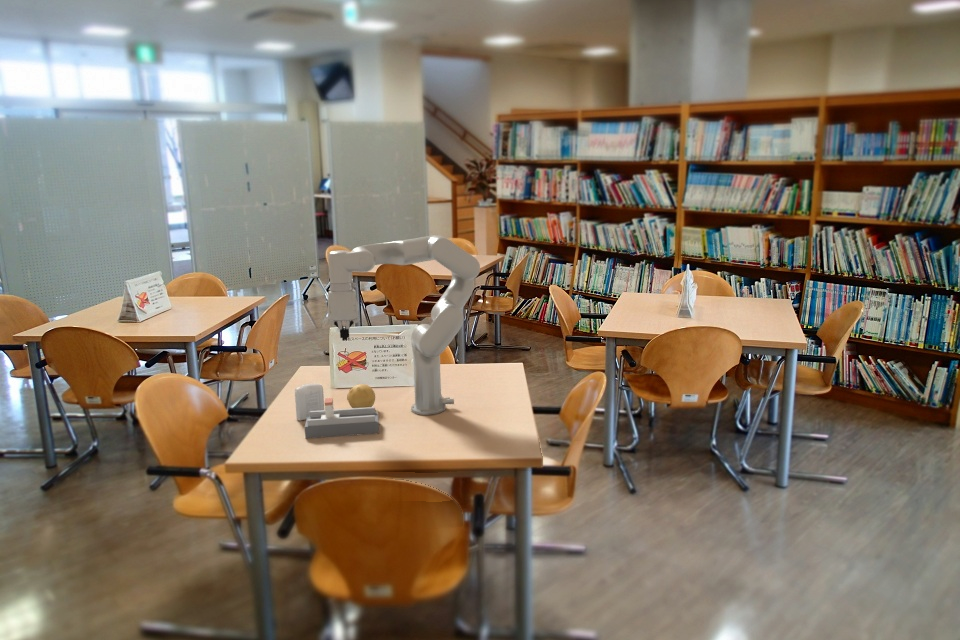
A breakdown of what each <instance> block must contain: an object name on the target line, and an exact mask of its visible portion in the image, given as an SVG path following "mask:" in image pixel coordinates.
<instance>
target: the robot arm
mask: <svg viewBox="0 0 960 640" xmlns="http://www.w3.org/2000/svg"><path fill="white" fill-rule="evenodd" d="M327 257H328V273H329V274H328V275H329V285H330V286H329V288H330V289H329V291H328V294H327V318H328V319H327V324H328V325H333V326H336V327H337V328H338V330H339V337H340V339H341V341H345V342H346V341H348V339H349V338H350V328H351V327H352V326H353V325H354V324H358V323H360V317H359V313H360V312H359V303H358V296H357V292H356V290H355V288H358V283H356V282H353V272H355V273H356V272H357V273H367V272H371V271H372V270H373V269H374V267H375V266H379V265H398V266H407V265H414V264H417V263H418V264H419V263H425V262H431V261H436V262H437V263H438V264H440V265H441V266H443V267H444V268H446V269H447V270H449V271H450V272H451V280H450V283H449V285H448V287H447V288H446V289H445V291H444V293H443V294H442V295H441V297H440V298H439V300H437V301H436V303H435V304H434V306H433V307H432V309H431V311H430V317H431V320H432V322H431V324H429V323H421V324H419V325H417V326H416V327H415V328H414V329H413V330H412V333H411V336H410V337H411V338H410V341H411V349H412V351H411V352H412V359H413V360H412V361H413V381H414V382H413V383H414V384H413V385H414V386H413V387H414V403H413V404H412V405H411V406H410V410H411V412H412V413H414V414H417V415H422V416H430V415H431V416H432V415H437V414H440V413H442V412H445V410H446V408H447V406H446V405H455V399H454V398H451V397H443V396H442V395H443V394H442V385H441V383H442V382H441V380H442V379H441V354H443V352H444V351H445V350H446V349H447V348H448V346H449V345H450V343H452V341H453V340H454V339H455V337H456V335H457V334H458V332H459V331H461V328H462V326H463V323H464V321H465V320H464V318H465V317H464V313H463V311H462V310H463V308H464V307H465V305H466V304H467V302H468V301H469V299H470V298H471V295H473V292H474V288H475V279H476V278H477V276H479V274H480V271H481V265H480V261H479V260H478V259H477V258H476V257H475V256H473V255H472V254H471V253H469V252H467V251H466V250H465V249H463V248H461V247H460V246H458V245H457V244H456V243H455V242H453V241H452V240H450V239H449V238H447V237H445V236H442V235H438V234H434V235H427V236H421V237H415V238H409V239H404V240H403V239H402V240H395V241H389V242H388V241H387V242H380V243H379V242H378V243H371V244H365V245H360V246H357V247H355V248H353V249H352V250H351V251H349V250H342V249H341V250H340V249H338V250H332V251H329V253H328V255H327ZM343 322H345V327H344V325H343Z"/></svg>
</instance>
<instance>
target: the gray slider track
mask: <svg viewBox="0 0 960 640" xmlns="http://www.w3.org/2000/svg"><path fill="white" fill-rule="evenodd" d="M324 414H325V409H324V410H320V411H310V416H307V419H305V424H304V436H305V439H319V438H329V437H330V438H332V437H345V436H347V435H348V436H358V435H357V434H362V435H373V434H374V433H377V434H379V432H380V431H379V430H380V425H379V423H380V422H379V421H380V420H379V411H376V407H375V406H372V407H367V408H352V407H351V408H339V409H338V408H336V409H334V414H340V416H339V417H338V418H323V419H321V415H324ZM374 435H375V434H374Z"/></svg>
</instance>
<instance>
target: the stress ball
mask: <svg viewBox="0 0 960 640" xmlns="http://www.w3.org/2000/svg"><path fill="white" fill-rule="evenodd" d="M346 400H347V401H348V404H349V406H350V407H351V408H367V407H374V404H375V401H376V394H375V391H374V389H373V388H372V387H371V386H369V385H368V384H364V383H359V384H356V385H354V386H353V387H352V388H350V389H349V392H348V393H347V397H346Z"/></svg>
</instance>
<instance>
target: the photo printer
mask: <svg viewBox="0 0 960 640" xmlns="http://www.w3.org/2000/svg"><path fill="white" fill-rule="evenodd" d="M294 397H295V398H294V401H295V413H296V414H295V415H296V420H297V421H306V420H307V416H310V411H320V410H325V396H324V386H323V384H321V383H317V382H316V383H315V382H310V383H305V384H303V385H300V386H298V387H296V388H295V390H294Z"/></svg>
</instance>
